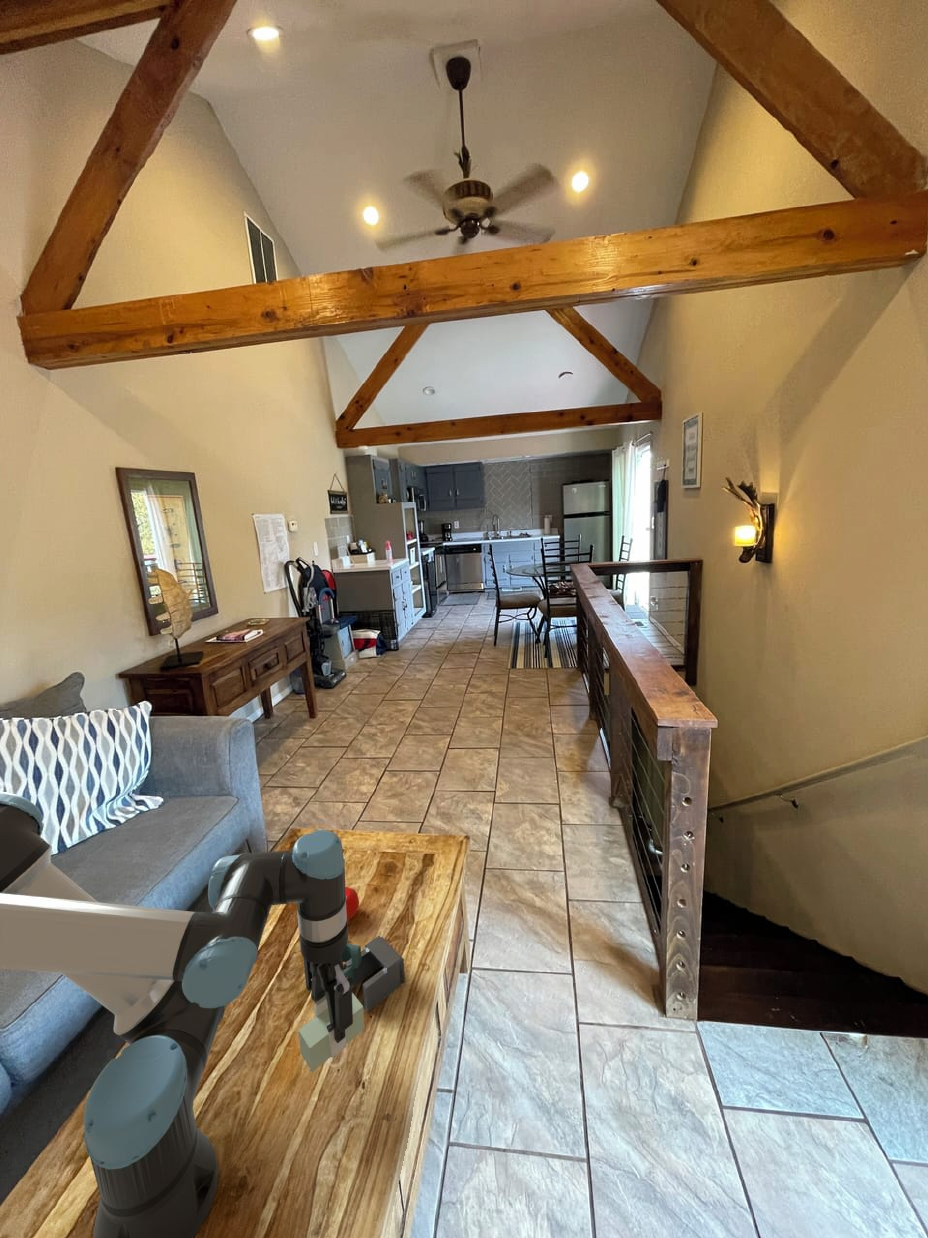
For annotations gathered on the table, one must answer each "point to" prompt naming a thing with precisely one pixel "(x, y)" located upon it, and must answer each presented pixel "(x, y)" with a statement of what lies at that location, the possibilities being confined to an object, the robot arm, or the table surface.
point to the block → (326, 1035)
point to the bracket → (355, 954)
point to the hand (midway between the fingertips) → (331, 1040)
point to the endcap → (384, 980)
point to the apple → (351, 902)
